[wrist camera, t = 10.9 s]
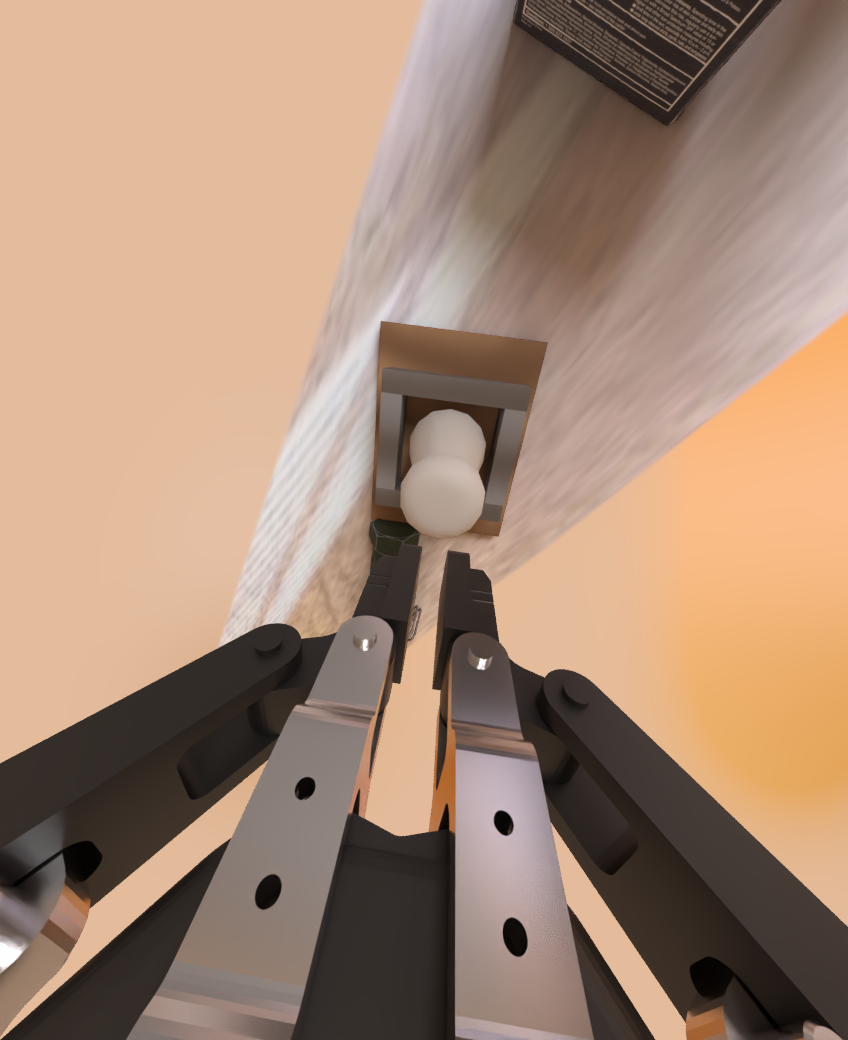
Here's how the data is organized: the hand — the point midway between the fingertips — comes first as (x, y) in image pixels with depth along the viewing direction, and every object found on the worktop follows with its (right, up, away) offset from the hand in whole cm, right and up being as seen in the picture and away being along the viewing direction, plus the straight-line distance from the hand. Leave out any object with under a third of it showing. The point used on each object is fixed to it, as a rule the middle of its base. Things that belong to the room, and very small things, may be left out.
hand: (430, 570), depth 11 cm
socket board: (+2, +9, +17) cm, 19 cm away
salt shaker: (+2, +8, +16) cm, 18 cm away
